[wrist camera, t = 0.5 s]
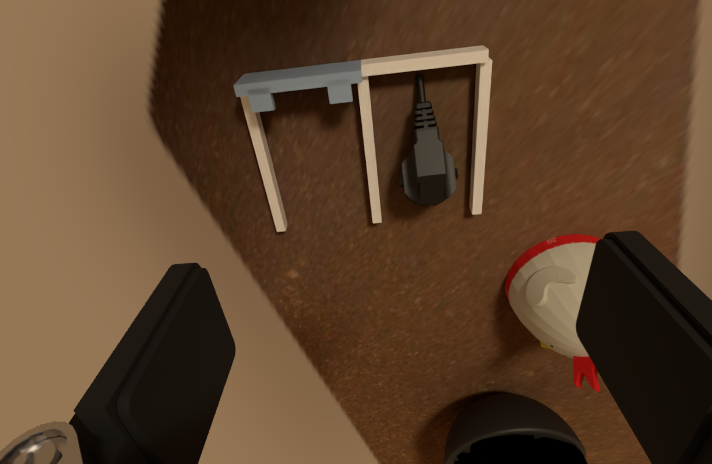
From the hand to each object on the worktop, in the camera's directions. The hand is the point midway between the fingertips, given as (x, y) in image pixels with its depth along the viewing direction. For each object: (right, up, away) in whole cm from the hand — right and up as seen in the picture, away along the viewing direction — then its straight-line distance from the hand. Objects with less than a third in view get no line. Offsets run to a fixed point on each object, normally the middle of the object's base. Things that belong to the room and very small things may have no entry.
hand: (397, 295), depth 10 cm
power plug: (+6, +12, +32) cm, 34 cm away
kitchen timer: (+25, -4, +42) cm, 49 cm away
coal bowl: (+22, -27, +58) cm, 67 cm away
